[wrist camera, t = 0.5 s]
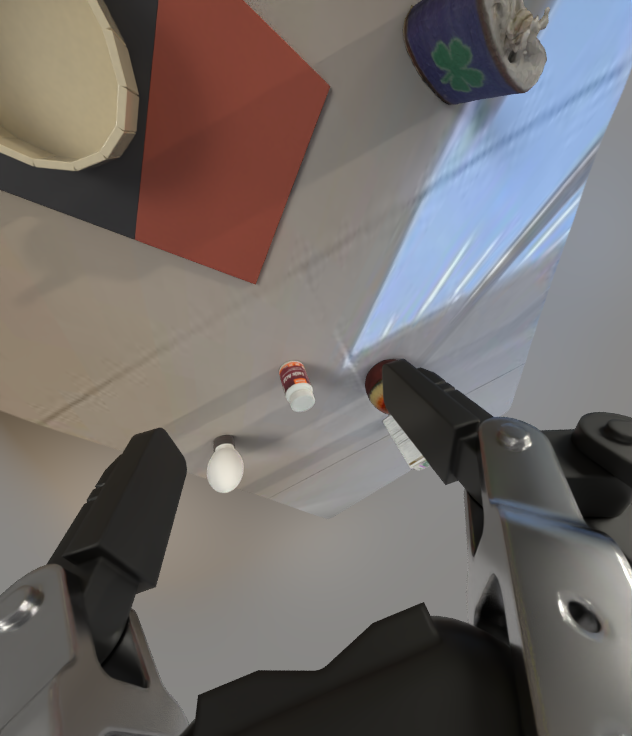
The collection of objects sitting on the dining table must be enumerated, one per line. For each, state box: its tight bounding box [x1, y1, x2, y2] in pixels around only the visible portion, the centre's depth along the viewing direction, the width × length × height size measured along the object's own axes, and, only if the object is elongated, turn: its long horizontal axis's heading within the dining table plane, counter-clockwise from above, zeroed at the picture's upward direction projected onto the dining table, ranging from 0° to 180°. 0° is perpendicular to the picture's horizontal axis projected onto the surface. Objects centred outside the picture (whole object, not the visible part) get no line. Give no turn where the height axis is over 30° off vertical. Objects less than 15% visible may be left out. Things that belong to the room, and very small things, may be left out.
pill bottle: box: [279, 361, 315, 412], centre depth 42 cm, size 5×5×8 cm
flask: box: [403, 0, 550, 104], centre depth 20 cm, size 9×3×11 cm, turn 60°
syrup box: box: [383, 415, 430, 471], centre depth 64 cm, size 6×6×14 cm
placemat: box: [0, 0, 330, 284], centre depth 20 cm, size 26×20×1 cm
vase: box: [365, 359, 396, 415], centre depth 48 cm, size 11×11×15 cm
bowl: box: [0, 0, 139, 171], centre depth 15 cm, size 12×12×4 cm
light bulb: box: [207, 435, 243, 493], centre depth 48 cm, size 7×7×11 cm
